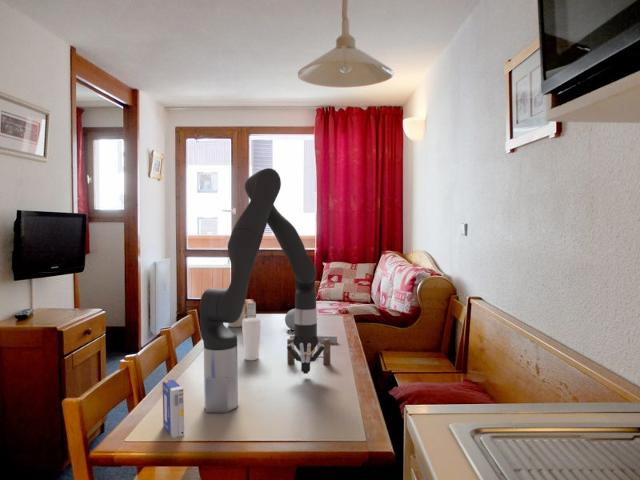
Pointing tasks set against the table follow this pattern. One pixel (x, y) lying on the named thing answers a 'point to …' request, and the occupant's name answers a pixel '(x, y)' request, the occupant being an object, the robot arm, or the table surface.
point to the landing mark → (312, 354)
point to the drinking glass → (251, 337)
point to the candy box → (250, 308)
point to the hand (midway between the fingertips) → (305, 372)
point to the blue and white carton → (173, 408)
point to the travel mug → (239, 321)
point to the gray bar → (320, 337)
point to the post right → (326, 352)
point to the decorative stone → (290, 319)
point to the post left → (289, 356)
